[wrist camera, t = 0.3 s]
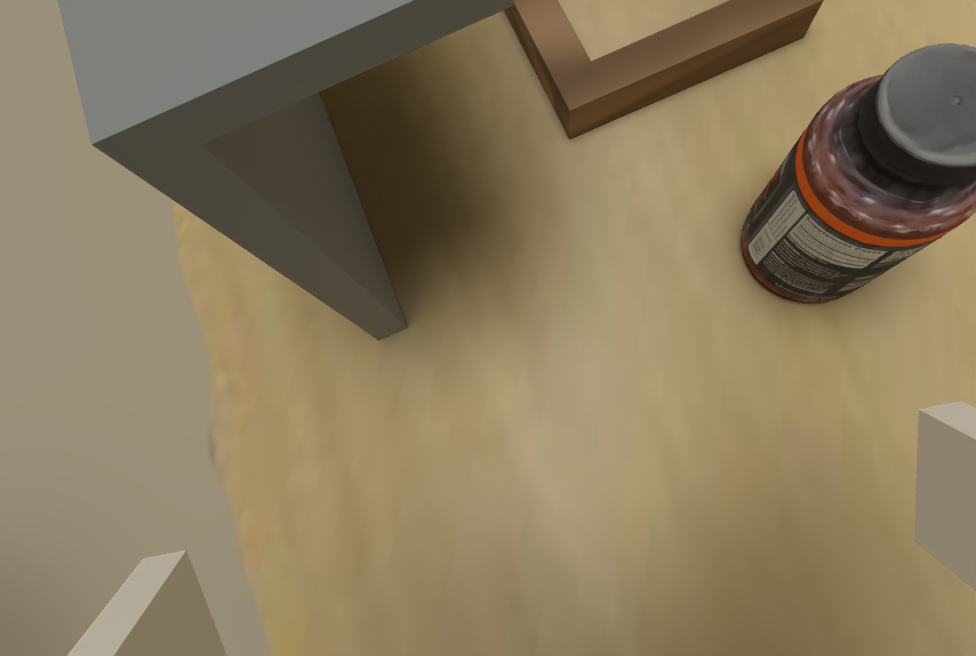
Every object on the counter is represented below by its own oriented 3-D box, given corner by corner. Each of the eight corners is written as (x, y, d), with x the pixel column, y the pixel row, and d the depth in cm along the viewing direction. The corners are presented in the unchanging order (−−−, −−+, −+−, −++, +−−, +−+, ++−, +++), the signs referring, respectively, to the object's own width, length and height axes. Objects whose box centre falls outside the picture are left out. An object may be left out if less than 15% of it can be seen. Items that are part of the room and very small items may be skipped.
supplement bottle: (794, 164, 28) (935, -25, 18) (900, 243, 27) (1127, 88, 16) (709, 248, 28) (800, 107, 17) (812, 333, 26) (983, 237, 16)
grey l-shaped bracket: (544, 268, 29) (507, -42, 11) (378, 339, 29) (91, 144, 12) (409, -26, 34) (242, -547, 17) (270, 37, 34) (-39, -411, 17)
